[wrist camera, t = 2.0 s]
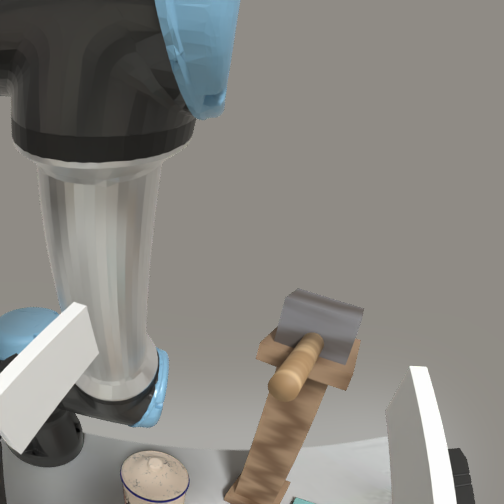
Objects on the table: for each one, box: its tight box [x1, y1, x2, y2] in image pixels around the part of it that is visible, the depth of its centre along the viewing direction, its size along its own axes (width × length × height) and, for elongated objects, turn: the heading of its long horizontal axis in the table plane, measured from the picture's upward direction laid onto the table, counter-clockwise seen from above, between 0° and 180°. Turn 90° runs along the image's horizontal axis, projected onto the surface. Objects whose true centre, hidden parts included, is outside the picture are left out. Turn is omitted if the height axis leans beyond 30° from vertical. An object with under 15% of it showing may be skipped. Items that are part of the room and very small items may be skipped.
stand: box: [224, 327, 360, 504], centre depth 38 cm, size 10×10×30 cm
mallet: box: [268, 288, 364, 402], centre depth 29 cm, size 15×8×5 cm, turn 157°
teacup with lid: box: [120, 451, 189, 504], centre depth 31 cm, size 12×9×12 cm
